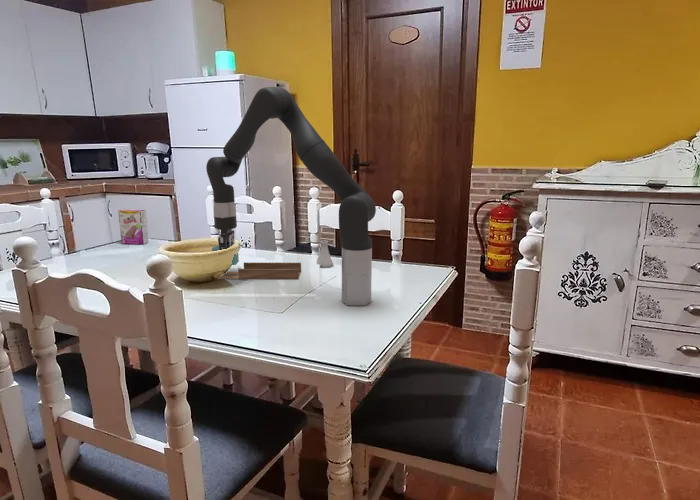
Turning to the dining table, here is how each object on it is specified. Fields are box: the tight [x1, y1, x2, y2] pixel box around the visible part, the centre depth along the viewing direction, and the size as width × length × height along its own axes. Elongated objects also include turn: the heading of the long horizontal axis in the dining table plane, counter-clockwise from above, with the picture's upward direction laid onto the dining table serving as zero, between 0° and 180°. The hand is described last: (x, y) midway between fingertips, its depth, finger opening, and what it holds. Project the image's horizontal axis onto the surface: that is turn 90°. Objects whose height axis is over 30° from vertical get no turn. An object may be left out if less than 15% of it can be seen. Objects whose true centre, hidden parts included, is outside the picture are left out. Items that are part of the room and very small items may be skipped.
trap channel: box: [216, 262, 302, 280], centre depth 172 cm, size 10×31×5 cm, turn 90°
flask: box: [315, 239, 334, 268], centre depth 190 cm, size 7×7×10 cm
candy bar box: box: [118, 208, 149, 246], centre depth 226 cm, size 11×5×16 cm, turn 84°
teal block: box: [211, 245, 240, 266], centre depth 171 cm, size 5×8×6 cm, turn 90°
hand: (228, 261), depth 171 cm, fingers closed on teal block, 5 cm apart
